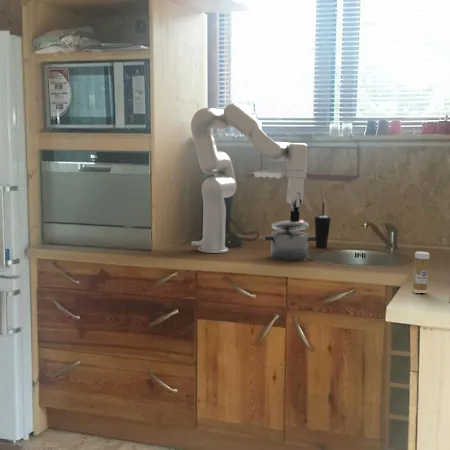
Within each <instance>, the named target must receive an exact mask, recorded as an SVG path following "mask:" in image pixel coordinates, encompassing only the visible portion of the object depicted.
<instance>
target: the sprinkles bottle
mask: <svg viewBox="0 0 450 450" xmlns="http://www.w3.org/2000/svg"><path fill="white" fill-rule="evenodd" d="M430 255H431V254H430V253H429V252H427V251H416V252H414V268H413V284H412V285H413V287H412V289H413V288H414V289H417V290H427V289H428V287H427V286H428V276H429V262H430V260H429V259H430ZM427 291H428V290H427Z"/></svg>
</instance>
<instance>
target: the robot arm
mask: <svg viewBox="0 0 450 450" xmlns="http://www.w3.org/2000/svg"><path fill="white" fill-rule="evenodd" d="M229 128H234V129H235V130H237V132H238V133H240V134H241V135H242V136H244V137H245V138H246V139H247V141H248V143H249V144H250V145H251V147H252V148H253V149H254V150H255V151H256V152H257V153H258V154H259V155H261V156H262V157H263V158H265V160H268V161H270V162H284V161H287V163H286V165H287V167H286V168H287V169H286V170H287V171H286V179H288V182H287V189H286V190H287V192H286V202H287V203H288V204H290V216H289V217H290V220H289V221H292V222H298V221H299V219H300V209H301V208H300V207H301V205H303V202H304V186H305V185H304V181H305V180H307V165H308V145H307V143H303V142H286V141H274V140H273V139H272V138H271V137H269V136H268V135H267V134H266V133H265V132H264V131H263V129H262V128H263V123H262V122H261V121H260V120H259V119H257V117H255V116H254V113H253V110H252V108H251V107H249V105H247V104H244V103H231V104H228V105H227V106H225V108H224V107H223V108H216V107H203V108H200V109H199V110H197V111H196V112H195V113H194V115H193V116H192V117H191V121H190V131H191V135H192V138H193V141H194V145H195V151H196V155H197V160H198V163H199V167H200V170H201V171H202V172H203V173H204V174H209V175H211V174H213V175H212V176H208V177H207V178H206V179H204V181H203V183H202V184H201V196H202V203H203V205H202V207H203V209H202V213H203V214H202V215H203V217H202V239H201V240H196V241H193V240H191V246H192V247H198V251H199V252H202V253H208V254H222V253H228V252H229V248H228V247H226V221H227V219H226V217H227V207H226V201H225V199H226V198H230V197H233V195H235V193H236V192H237V180H236V176H235V172H234V167H233V163H232V160H231V158H230V155H229V154H227V152H225V151H223V150H218V147H217V144H216V139H215V138H214V135H213V134H212V132H211V129H214V130H215V129H216V130H217V129H218V130H220V129H229Z"/></svg>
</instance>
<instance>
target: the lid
mask: <svg viewBox="0 0 450 450" xmlns="http://www.w3.org/2000/svg"><path fill="white" fill-rule="evenodd" d="M309 226H310V225H309V222H307V221H305V220H304V219H303V218H301V219H300V218H299V221H298V222H292V221H290V220H281V221H276V222H273V223H271V229H273V230H275V231H303V230H306V229H309Z"/></svg>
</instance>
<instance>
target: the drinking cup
mask: <svg viewBox="0 0 450 450" xmlns="http://www.w3.org/2000/svg"><path fill="white" fill-rule="evenodd" d="M321 210H322V211H321V214H317V215H314V216H313V218H314V232H315V233H314V236H315V237H316V241H315V247H316V248H318V249H319V248H321V249H324V248H325V249H327V246H328V240H329V232H330V227H331V219H332V216H329V215H328V214H324V213H325V202H322V209H321Z"/></svg>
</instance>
